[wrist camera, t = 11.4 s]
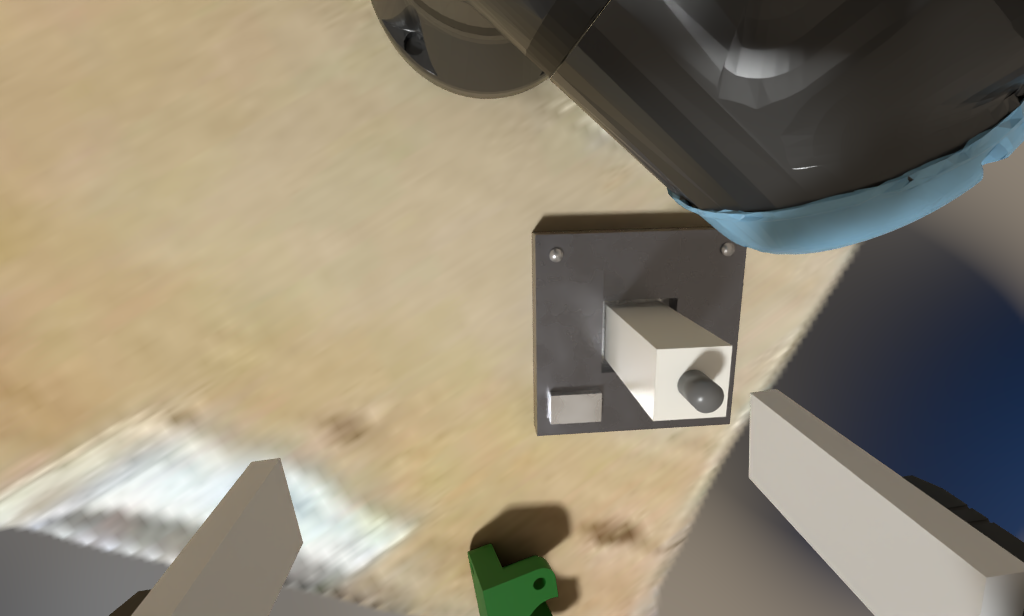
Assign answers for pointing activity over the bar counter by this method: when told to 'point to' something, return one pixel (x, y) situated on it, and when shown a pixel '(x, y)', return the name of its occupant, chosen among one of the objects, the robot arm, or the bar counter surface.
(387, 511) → the bar counter surface
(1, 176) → the bar counter surface
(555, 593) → the clamp
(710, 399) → the plug
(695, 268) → the socket
